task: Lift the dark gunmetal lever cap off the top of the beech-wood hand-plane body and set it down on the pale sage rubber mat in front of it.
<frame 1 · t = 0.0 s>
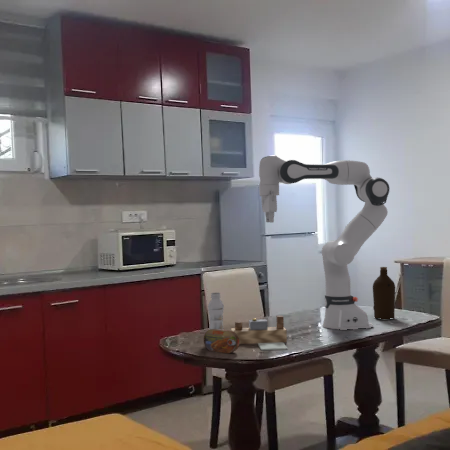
hand: (269, 222, 261), 48 cm above the table, tool pointing down, fingers open, 8 cm apart
mat: (272, 347, 226), on the table
plastic bottle: (216, 342, 236), on the table
tin: (221, 352, 220), on the table
lever cap: (258, 329, 236), point 5 cm above the table, touching plane body
plane body: (258, 341, 236), on the table
olive oil: (384, 318, 282), on the table
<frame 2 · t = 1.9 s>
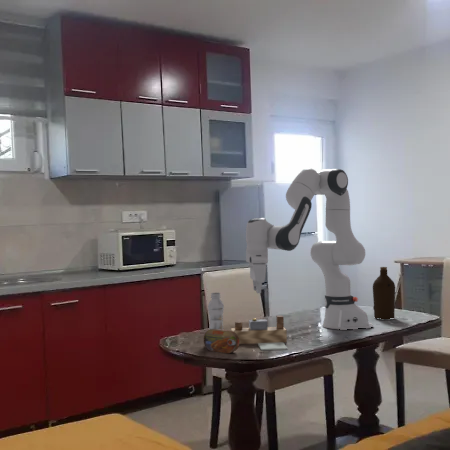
hand: (257, 291, 236), 20 cm above the table, tool pointing down, fingers open, 8 cm apart
nothing on the table moved.
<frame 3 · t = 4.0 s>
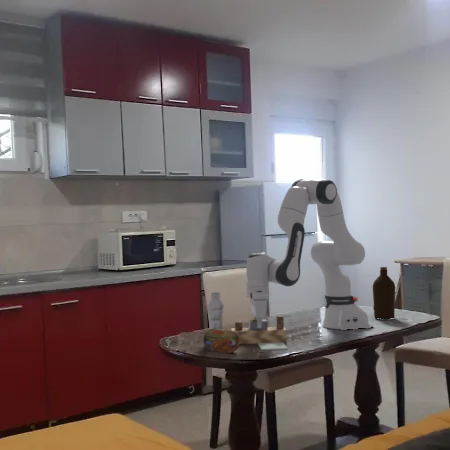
hand: (258, 326, 236), 6 cm above the table, tool pointing down, fingers closed on lever cap, 4 cm apart
lever cap: (258, 329, 236), point 5 cm above the table, touching gripper, plane body
everything else where it was.
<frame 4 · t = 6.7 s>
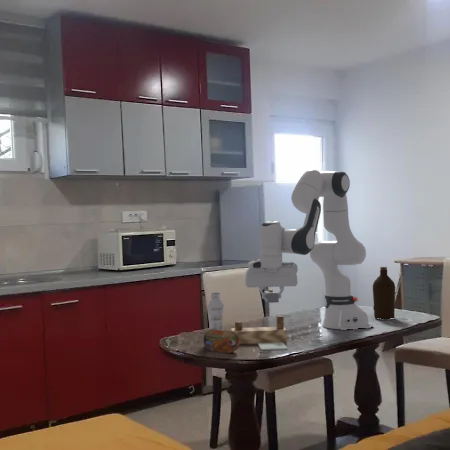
hand: (271, 298, 225), 19 cm above the table, tool pointing down, fingers closed on lever cap, 4 cm apart
lever cap: (271, 301, 225), point 18 cm above the table, touching gripper
everything else where it was.
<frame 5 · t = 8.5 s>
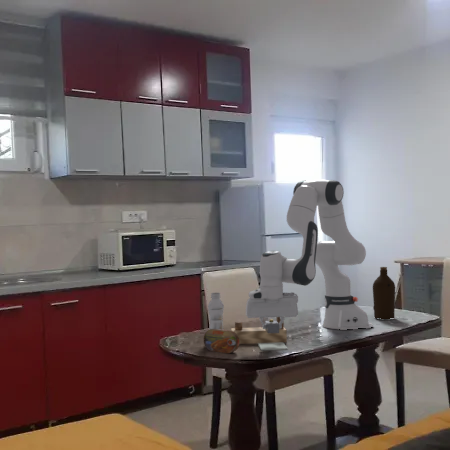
hand: (272, 328, 225), 7 cm above the table, tool pointing down, fingers closed on lever cap, 4 cm apart
lever cap: (272, 331, 225), point 6 cm above the table, touching gripper
everything else where it was.
when the fingers open (3 cm above the table, at t = 9.8 s): lever cap drops 1 cm, resting on mat.
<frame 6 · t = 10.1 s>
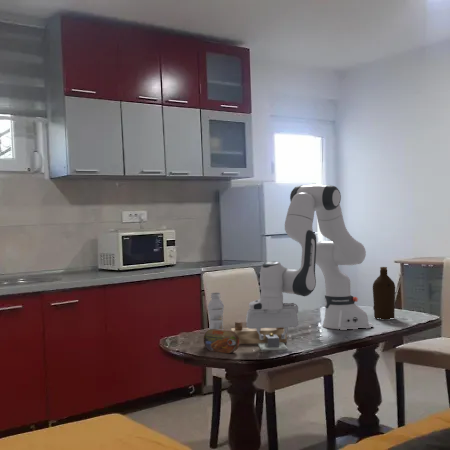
hand: (272, 339, 226), 3 cm above the table, tool pointing down, fingers open, 7 cm apart
lever cap: (272, 345, 226), point 1 cm above the table, touching mat
everything else where it was.
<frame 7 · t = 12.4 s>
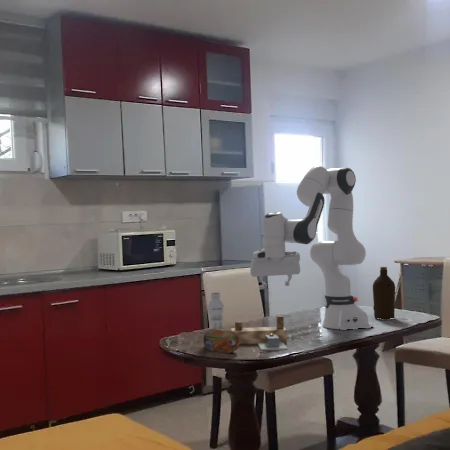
hand: (275, 286, 236), 22 cm above the table, tool pointing down, fingers open, 8 cm apart
nothing on the table moved.
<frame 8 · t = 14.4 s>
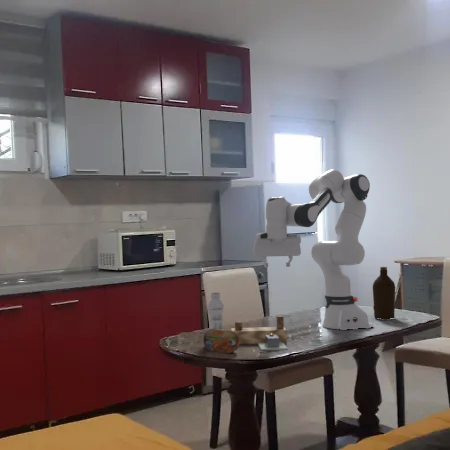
hand: (277, 266, 248), 29 cm above the table, tool pointing down, fingers open, 8 cm apart
nothing on the table moved.
at the end: lever cap inside the target area on the mat (0.1 cm from its centre), point 0.6 cm above the mat's base; lever cap touching mat; the gripper is holding nothing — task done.
